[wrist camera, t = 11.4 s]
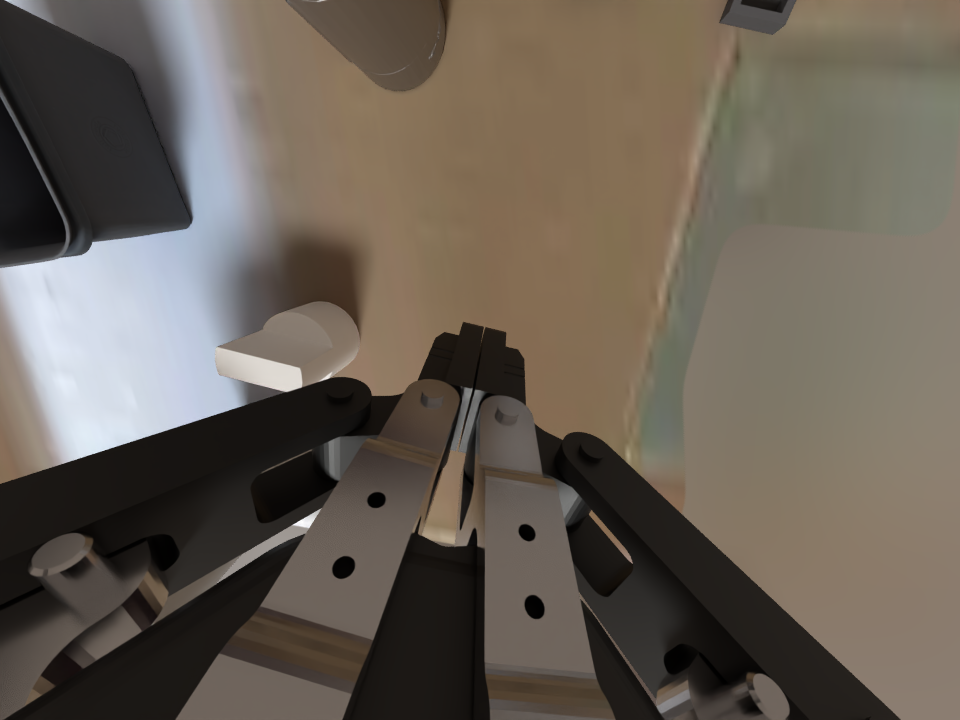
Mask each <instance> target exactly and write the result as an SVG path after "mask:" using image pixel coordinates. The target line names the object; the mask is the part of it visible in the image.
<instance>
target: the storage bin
mask: <svg viewBox="0 0 960 720" xmlns="http://www.w3.org/2000/svg"><path fill="white" fill-rule="evenodd" d="M189 226H190V218H189V215H188V213H187V210H186V208H185V205H184V203H183V200H182V198H181V195H180V193H179V190H178V188H177V185H176V183H175V180H174V177H173V175H172V172H171V170H170V167H169V165H168V162H167V160H166V157H165V154H164V152H163V149H162V147H161V144H160V142H159V139H158V137H157V134H156V132H155V129H154V126H153V124H152V121H151V119H150V116H149V114H148V111H147V109H146V106H145V104H144V101H143V99H142V96H141V94H140V91H139V88H138V86H137V83H136V81H135V78H134V76H133V73H132V71H131V68H130V67H129V65H128V64H127V63H126V62H125V61H124V60H123V59H122V58H120V57H118V56H116V55H114V54H112V53H110V52H108V51H106V50H104V49H102V48H100V47H98V46H96V45H94V44H92V43H90V42H88V41H86V40H84V39H82V38H80V37H78V36H76V35H74V34H71V33H69V32H67V31H65V30H63V29H61V28H59V27H57V26H55V25H53V24H51V23H49V22H47V21H45V20H43V19H41V18H39V17H37V16H35V15H33V14H31V13H29V12H27V11H25V10H23V9H21V8H19V7H17V6H15V5H13V4H11V3H9V2H7V1H5V0H0V268H4V267H11V266H18V265H25V264H32V263H39V262H45V261H50V260H55V259H58V258H62V257H70V256H78V255H82V254H84V253H86V252H87V251H88V250H89V248H90V247H91V245H92V242H97V241H106V240H114V239H122V238H131V237H138V236H144V235H150V234H156V233H162V232H169V231H176V230H183V229H187V228H188V227H189Z"/></svg>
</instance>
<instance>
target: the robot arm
mask: <svg viewBox="0 0 960 720" xmlns="http://www.w3.org/2000/svg"><path fill="white" fill-rule="evenodd" d="M286 2H287V3H288V4H289V5H290V6H291V7H292V8H293V9H294V10H295V11H296V12H297V13H298V14H299V15H300V16H301V17H303V18H304V19H305V20H306V21H307V22H308V23H309V24H310V25H311V26H312V27H313V28H314V29H315V30H316V31H317V32H319V33H320V34H321V35H322V36H323V37H324V38H325V39H326V40H327V41H328V42H329V43H330V44H331V45H332V46H333V47H334V48H336V49H337V50H338V51H339V52H340V53H341V54H342V55H343V56H344V57H345V58H346V59H347V60H348V61H350V62H353V63H354V64H355V65H356V66H357V67H358V68H359V69H361V70H362V71H363V72H364V73H365V74H366V75H367V76H368V77H369V78H370V79H371V80H372V81H374V82H375V83H376V84H377V85H379V86H381V87H383V88H385V89H388V90H392V91H406V90H410V89H413V88H415V87H417V86H419V85H420V84H422V83H423V82H424V81H425V80H426V79H427V78H428V77H429V76H430V75H431V74H432V72H433V71H434V69H435V68H436V66H437V64H438V62H439V60H440V57H441V55H442V51H443V47H444V43H445V18H444V12H443V8H442V5H441V1H440V0H286ZM483 329H484V327H483V326H478V325H474V324H470V323H466V322H463V324H462V327H461V331H460V334H459V335H455V334H451V333H446V332H444V333H442V334H441V335H439V336H438V337H436V338H435V340H434V343H433V345H432V348H431V350H430V352H429V355H428V357H427V359H426V362H425V364H424V366H423V369H422V371H421V374H420V376H419V378H418V381H415V382H413V383H412V384H410V385H409V386H408V387H407V389H406V390H405V392H404V393H403V394H399V395H394V396H372V394H371V391H370V389H369V387H368V386H367V385H366V384H364V383H363V382H361V381H359V380H357V379H353V378H348V377H335V378H330V379H326V380H323V381H320V382H316V383H313V384H310V385H307V386H304V387H301V388H298V389H295V390H292V391H288V392H285V393H282V394H279V395H276V396H273V397H270V398H267V399H264V400H260V401H257V402H254V403H251V404H248V405H245V406H242V407H239V408H235V409H232V410H229V411H226V412H223V413H220V414H217V415H214V416H211V417H207V418H204V419H201V420H198V421H195V422H192V423H189V424H186V425H183V426H179V427H176V428H173V429H170V430H167V431H164V432H161V433H158V434H155V435H151V436H148V437H145V438H142V439H139V440H136V441H133V442H130V443H127V444H123V445H120V446H117V447H114V448H111V449H108V450H105V451H102V452H98V453H95V454H92V455H89V456H86V457H83V458H80V459H77V460H74V461H70V462H67V463H64V464H61V465H58V466H55V467H52V468H49V469H46V470H42V471H39V472H36V473H33V474H30V475H27V476H24V477H21V478H18V479H14V480H11V481H8V482H5V483H2V484H0V720H900V719H899V718H898V717H897V716H896V715H895V714H894V713H893V712H892V711H891V710H890V709H889V708H888V707H887V706H886V705H885V704H884V703H883V702H882V701H881V700H879V699H878V698H877V697H876V696H875V695H874V694H873V693H872V692H871V691H870V690H869V689H868V688H867V687H865V685H863V684H862V683H861V682H860V681H859V680H858V679H857V678H856V677H855V676H854V675H853V674H852V673H851V672H849V671H848V670H847V669H846V668H845V667H844V666H843V665H842V664H841V663H840V662H839V661H838V660H837V659H836V658H835V657H833V656H832V655H831V654H830V653H829V652H828V651H827V650H826V649H825V648H824V647H823V646H822V645H821V644H820V643H819V642H817V641H816V640H815V639H814V638H813V637H812V636H811V635H810V634H809V633H808V632H807V631H806V630H805V629H804V628H803V627H802V626H800V625H799V624H798V623H797V622H796V621H795V620H794V619H793V618H792V617H791V616H790V615H789V614H788V613H787V612H786V611H784V610H783V609H782V608H781V607H780V606H779V605H778V604H777V603H776V602H775V601H774V600H773V599H772V598H771V597H769V596H768V595H767V594H766V593H765V592H764V591H763V590H762V589H761V588H760V587H759V586H758V585H757V584H756V583H754V582H753V581H752V580H751V579H750V578H749V577H748V576H747V575H746V574H745V573H744V572H743V571H742V570H741V569H740V568H739V567H737V566H736V565H735V564H734V563H733V562H732V561H731V560H730V559H729V558H728V557H727V556H726V555H724V554H723V553H722V552H721V551H720V550H719V549H718V548H717V547H716V546H715V545H714V544H713V543H712V542H711V541H710V540H709V539H708V538H706V537H705V536H704V535H703V534H702V533H701V532H700V531H699V530H698V529H697V528H696V527H695V526H694V525H693V524H692V523H691V522H689V521H688V520H687V519H686V518H685V517H684V516H683V515H682V514H681V513H680V512H679V511H678V510H677V509H676V508H675V507H673V506H672V505H671V504H670V503H669V502H668V501H667V500H666V499H665V498H664V497H663V496H662V495H661V494H660V493H658V492H657V491H656V490H655V489H654V488H653V487H652V486H651V485H650V484H649V483H648V482H647V481H646V480H645V479H644V478H642V477H641V476H640V475H639V474H638V473H637V472H636V471H635V470H634V469H633V468H632V467H631V466H630V465H629V464H628V463H626V462H625V461H624V460H623V459H622V458H621V457H620V456H619V455H618V454H617V453H616V452H615V451H614V450H613V449H612V448H610V447H609V446H608V445H607V444H606V443H605V442H604V441H602V440H601V439H599V438H597V437H595V436H593V435H591V434H588V433H583V432H573V433H570V434H568V435H566V436H565V437H564V439H563V440H562V439H559V438H557V437H555V436H553V435H551V434H549V433H547V432H545V431H544V430H542V429H541V428H539V427H538V426H537V425H536V424H535V423H534V419H533V415H532V413H531V411H530V410H529V408H528V407H527V406H526V396H525V378H524V377H525V370H524V369H525V368H524V358H523V357H522V355H521V353H520V352H519V350H518V349H514V348H509V347H505V346H506V332H504V331H499V330H495V329H491V328H487V327H485V330H484V334H483ZM482 334H483V338H482ZM481 340H482V342H481ZM480 345H481V346H480ZM463 423H464V425H463ZM462 427H463V430H462ZM461 431H462V435H461ZM460 435H461V441H460V446H459V451H458V452H463V453H466V456H465V462H464V466H463V469H462V473H461V477H460V490H459V503H458V515H457V528H456V539H455V546H454V547H445V546H441V545H439V544H437V543H435V542H433V541H431V540H429V539H427V538H425V537H423V536H422V534H423V530H424V527H425V524H426V521H427V518H428V515H429V512H430V509H431V506H432V503H433V500H434V496H435V493H436V490H437V487H438V484H439V481H440V478H441V475H442V471H443V468H444V467H445V465H446V463H447V461H448V457H449V453H450V450H453V451H456V450H457V446H458V442H459V438H460ZM311 449H312V451H309V450H311ZM307 451H309V452H307ZM304 452H307V453H305V454H303V455H301V456H298V455H300V454H302V453H304ZM296 456H298V457H296ZM293 457H296V458H294V459H292V460H290V461H287V460H289V459H291V458H293ZM285 461H287V462H285ZM282 462H285V463H283V464H281V465H279V466H276V465H278V464H280V463H282ZM273 466H276V467H274V468H272V469H270V470H268V471H265V470H267V469H269V468H271V467H273ZM264 471H265V472H264ZM262 472H263V473H262ZM321 508H322V509H321ZM319 509H321V511H320V512H319V514H318V515H317V517H316V518H315V520H314V522H313V523H312V525H311V526H310V528H309V530H308V531H307V533H306V534H303V535H301V536H298V537H295V538H293V539H290V540H288V541H286V542H284V543H282V544H280V545H278V546H277V547H274V548H273V549H271V550H269V551H268V552H266V553H264V554H263V555H261V556H260V557H258V558H257V559H255V560H253V561H252V562H250V563H249V564H247V565H246V566H244V567H243V568H241V569H239V570H238V571H236V572H235V573H233V574H231V575H230V576H228V577H227V578H225V579H224V580H222V581H220V582H219V583H217V584H216V585H214V586H213V587H211V588H209V589H208V590H206V591H205V592H203V593H202V594H200V595H198V596H197V597H195V598H194V599H192V600H191V601H189V602H187V603H186V604H184V605H183V606H181V607H180V608H178V609H176V610H175V611H173V612H172V613H170V614H169V615H167V616H165V617H164V618H162V619H161V620H159V621H158V622H156V623H154V624H153V622H154V621H155V620H156V618H157V617H158V616H159V614H160V612H161V611H162V609H163V607H164V605H165V603H166V600H167V597H169V596H171V595H172V594H174V593H176V592H178V591H179V590H181V589H183V588H184V587H186V586H188V585H190V584H191V583H193V582H195V581H197V580H198V579H200V578H202V577H203V576H205V575H207V574H209V573H210V572H212V571H214V570H215V569H217V568H219V567H221V566H222V565H224V564H226V563H228V562H229V561H231V560H233V559H234V558H236V557H238V556H240V555H241V554H243V553H245V552H247V551H248V550H250V549H252V548H253V547H255V546H257V545H258V544H260V543H262V542H264V541H265V540H267V539H269V538H271V537H272V536H274V535H276V534H278V533H279V532H281V531H283V530H284V529H286V528H288V527H289V526H291V525H293V524H295V523H296V522H298V521H300V520H302V519H303V518H305V517H307V516H309V515H310V514H312V513H314V512H315V511H317V510H319ZM591 510H592V511H593V512H594V513H595V514H596V515H597V516H598V518H599V519H600V520H601V521H602V522H603V523H604V524H605V526H606V527H607V528H608V529H609V530H610V531H611V532H612V534H613V535H614V536H615V537H616V538H617V539H618V540H619V541H620V543H621V544H622V545H623V546H624V547H625V548H626V550H627V551H628V553H629V554H630V556H631V559H632V562H633V564H632V563H631V562H629V561H628V560H627V559H626V557H625V556H624V555H623V554H622V553H621V552H620V550H619V549H618V548H617V547H616V546H615V545H614V543H613V542H612V541H611V540H610V539H609V538H608V536H607V535H606V534H605V533H604V532H603V531H602V530H601V528H600V527H599V526H598V525H597V524H596V523H595V521H594V520H593V519H592V518H591V517H590V516H589V513H590V511H591ZM579 592H580V594H581V595H582V597H583V598H584V599H585V601H586V602H587V604H588V605H589V606H590V608H591V609H592V610H593V612H594V613H595V615H596V616H597V618H598V619H599V620H600V622H601V623H602V624H603V626H604V627H605V629H606V630H607V631H608V633H609V634H610V636H611V637H612V638H613V640H614V641H615V642H616V644H617V645H618V647H619V648H620V650H621V651H622V652H623V654H624V655H625V657H626V658H627V659H628V661H629V662H630V664H631V665H632V666H633V668H634V669H635V670H636V672H637V673H638V675H639V676H640V677H641V679H642V680H643V682H644V683H645V684H646V686H647V687H648V688H649V690H650V691H651V693H652V694H653V695H654V697H655V698H656V701H657V707H656V706H655V704H654V703H653V701H652V700H651V698H650V697H649V695H648V694H647V693H646V691H645V690H644V688H643V687H642V685H641V684H640V682H639V681H638V679H637V678H636V676H635V675H634V673H633V672H632V670H631V669H630V668H629V666H628V664H627V663H626V662H625V660H624V659H623V657H622V656H621V654H620V653H619V651H618V650H617V648H616V647H615V645H614V644H613V642H612V641H611V639H610V638H609V637H608V635H607V634H606V632H605V631H604V629H603V628H602V626H601V625H600V623H599V622H598V620H597V619H596V618H595V616H594V615H593V613H592V612H591V611H590V610H589V609H588V607H587V606H586V605H585V604H584V603H583V601H582V600H581V599H580V596H579ZM152 624H153V625H152Z"/></svg>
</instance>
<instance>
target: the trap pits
mask: <svg viewBox="0 0 960 720" xmlns="http://www.w3.org/2000/svg"><path fill="white" fill-rule="evenodd" d="M795 2H796V0H728V2H727V4H726V7H725V10H724V12H723V15H722V17H721V20H720V22H719V23H723V24H727V25H732V26H736V27H741V28H745V29H750V30H754V31H759V32H763V33H767V34H772V35H773V34H774V33H776V32H777V31H778V30H779V29H781V28H782V27H783V26H784V25H785V24H786V22H787V20H788V18H789V15H790V13H791V11H792V9H793V6H794V4H795Z"/></svg>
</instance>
